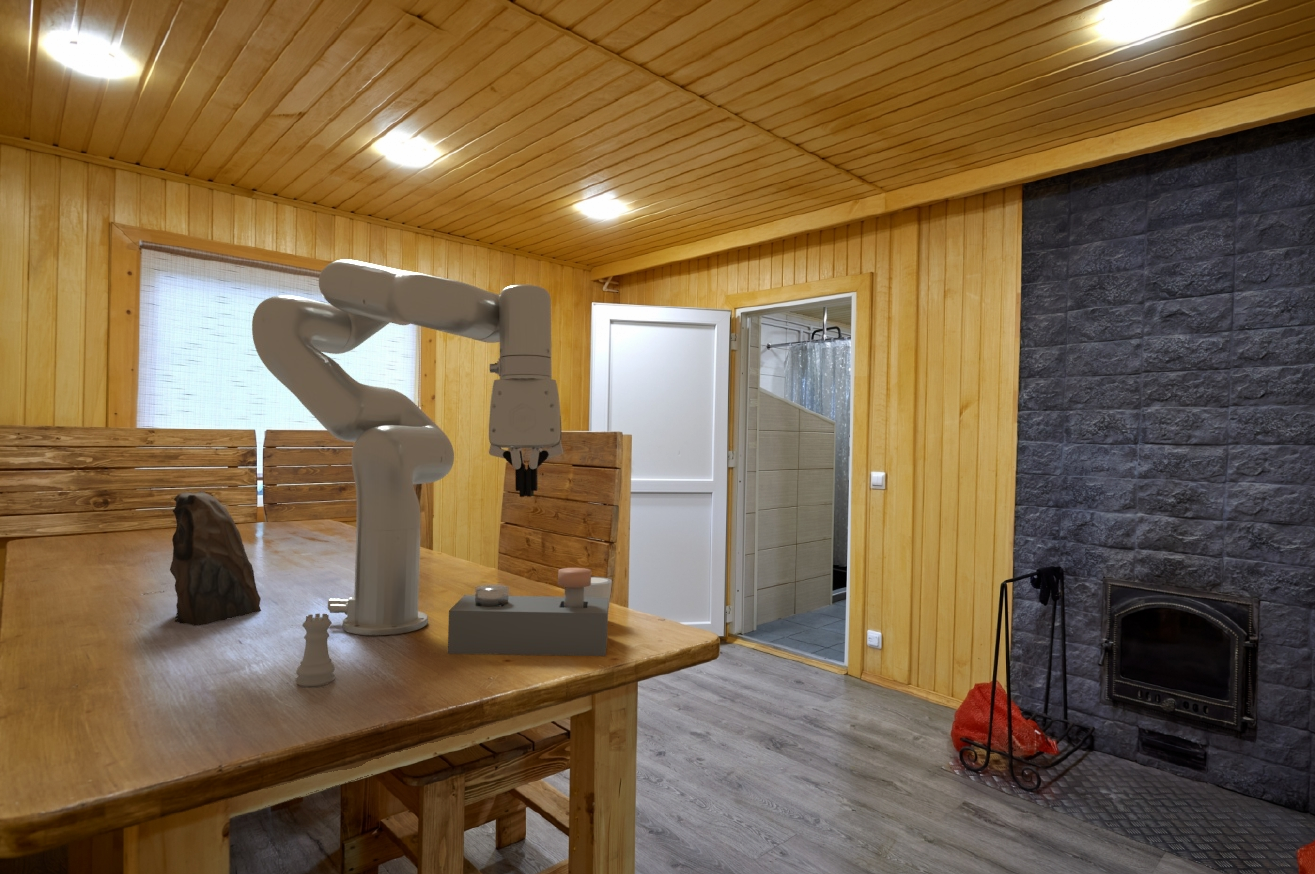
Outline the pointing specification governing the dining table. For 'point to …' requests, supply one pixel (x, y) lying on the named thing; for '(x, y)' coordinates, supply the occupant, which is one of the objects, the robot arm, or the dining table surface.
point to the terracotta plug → (574, 585)
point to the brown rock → (210, 563)
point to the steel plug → (491, 595)
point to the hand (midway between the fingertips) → (526, 495)
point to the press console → (529, 627)
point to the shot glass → (599, 588)
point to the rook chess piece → (316, 653)
